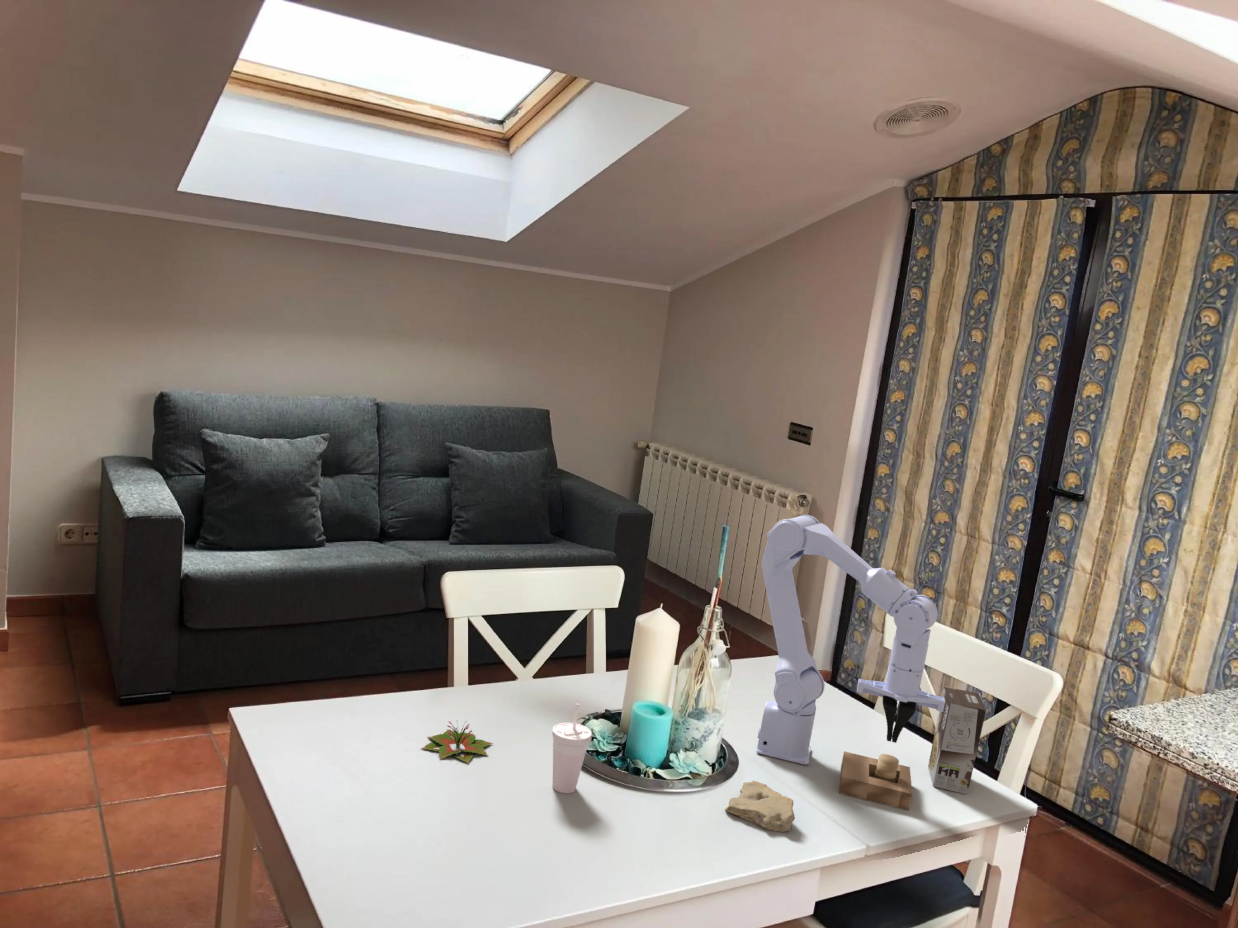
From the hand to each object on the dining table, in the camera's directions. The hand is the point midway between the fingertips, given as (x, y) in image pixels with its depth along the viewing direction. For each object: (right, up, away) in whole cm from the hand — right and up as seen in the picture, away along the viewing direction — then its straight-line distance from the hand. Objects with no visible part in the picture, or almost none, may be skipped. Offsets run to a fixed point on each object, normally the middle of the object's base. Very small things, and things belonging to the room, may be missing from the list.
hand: (891, 739), depth 171 cm
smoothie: (-56, -4, -14) cm, 58 cm away
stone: (-26, -9, -13) cm, 30 cm away
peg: (-1, -9, +1) cm, 9 cm away
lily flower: (-75, 0, -6) cm, 75 cm away
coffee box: (+13, -10, +9) cm, 19 cm away
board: (-3, -9, +2) cm, 9 cm away
